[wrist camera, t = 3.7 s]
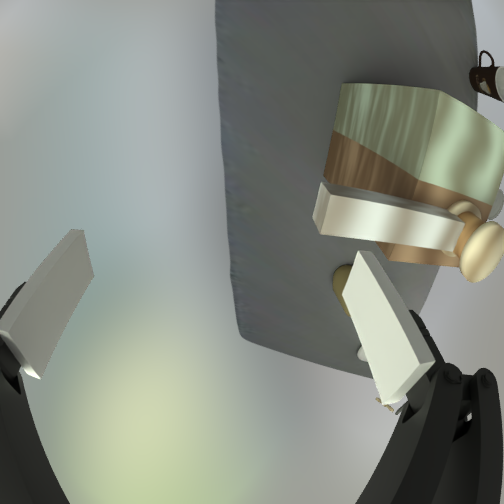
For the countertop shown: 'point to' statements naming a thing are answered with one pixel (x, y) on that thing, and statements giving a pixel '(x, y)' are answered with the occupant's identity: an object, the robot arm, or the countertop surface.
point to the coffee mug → (488, 79)
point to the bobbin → (412, 225)
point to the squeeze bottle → (341, 284)
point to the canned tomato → (497, 205)
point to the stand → (415, 153)
